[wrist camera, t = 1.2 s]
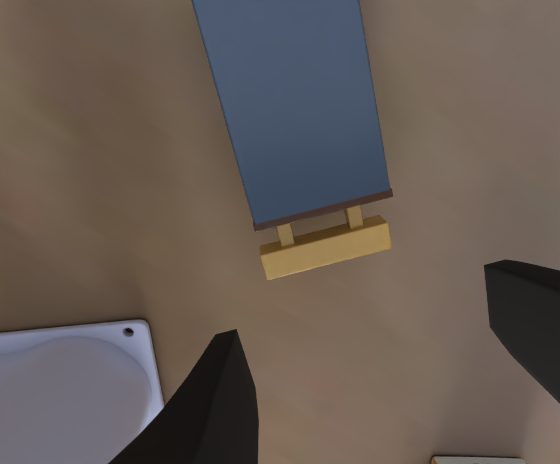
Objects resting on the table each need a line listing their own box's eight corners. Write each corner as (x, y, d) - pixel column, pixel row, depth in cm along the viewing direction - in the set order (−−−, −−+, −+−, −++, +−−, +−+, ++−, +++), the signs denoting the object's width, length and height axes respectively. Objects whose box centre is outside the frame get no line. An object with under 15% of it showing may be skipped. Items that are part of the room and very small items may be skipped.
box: (369, 223, 21) (410, 266, 16) (263, 250, 21) (269, 302, 16) (321, -33, 18) (353, -89, 12) (193, 0, 18) (170, -42, 12)
